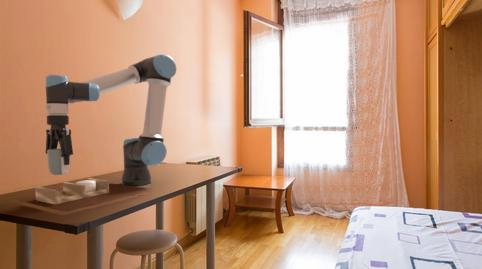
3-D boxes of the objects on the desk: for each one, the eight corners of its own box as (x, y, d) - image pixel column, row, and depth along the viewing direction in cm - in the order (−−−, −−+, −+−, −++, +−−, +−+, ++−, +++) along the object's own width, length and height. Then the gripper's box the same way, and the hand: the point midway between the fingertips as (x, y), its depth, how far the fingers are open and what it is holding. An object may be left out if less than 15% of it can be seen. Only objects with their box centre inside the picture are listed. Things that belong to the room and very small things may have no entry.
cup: (46, 176, 121) (45, 150, 121) (49, 173, 128) (48, 148, 128) (69, 175, 124) (68, 149, 124) (71, 172, 131) (70, 148, 131)
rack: (89, 191, 145) (89, 178, 145) (109, 195, 137) (108, 180, 137) (35, 202, 126) (35, 187, 125) (55, 207, 118) (54, 190, 118)
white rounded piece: (89, 190, 141) (89, 179, 141) (99, 192, 137) (99, 181, 137) (72, 194, 135) (72, 182, 135) (83, 196, 131) (82, 184, 131)
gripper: (34, 115, 128) (36, 171, 129) (62, 114, 117) (64, 175, 118) (53, 115, 134) (55, 169, 135) (82, 114, 123) (83, 173, 124)
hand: (59, 172), depth 126 cm, fingers closed on cup, 8 cm apart
